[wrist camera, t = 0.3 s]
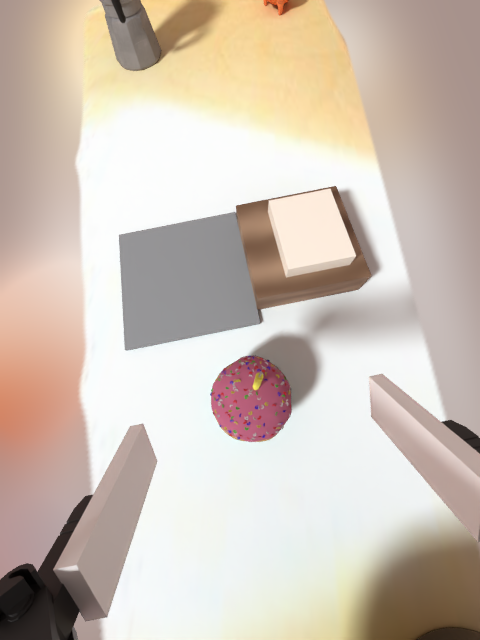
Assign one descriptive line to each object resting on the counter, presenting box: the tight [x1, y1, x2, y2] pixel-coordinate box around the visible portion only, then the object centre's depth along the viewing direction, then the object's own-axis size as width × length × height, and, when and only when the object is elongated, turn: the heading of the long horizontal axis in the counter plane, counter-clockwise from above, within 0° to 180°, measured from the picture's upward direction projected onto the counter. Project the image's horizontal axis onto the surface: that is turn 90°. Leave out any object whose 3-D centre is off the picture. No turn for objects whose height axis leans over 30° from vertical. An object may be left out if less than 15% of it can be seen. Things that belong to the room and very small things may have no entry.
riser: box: [236, 186, 371, 310], centre depth 34 cm, size 14×14×4 cm
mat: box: [119, 212, 260, 350], centre depth 36 cm, size 18×18×1 cm
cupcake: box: [210, 355, 291, 442], centre depth 25 cm, size 9×8×12 cm
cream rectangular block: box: [268, 189, 356, 277], centre depth 31 cm, size 10×8×2 cm
